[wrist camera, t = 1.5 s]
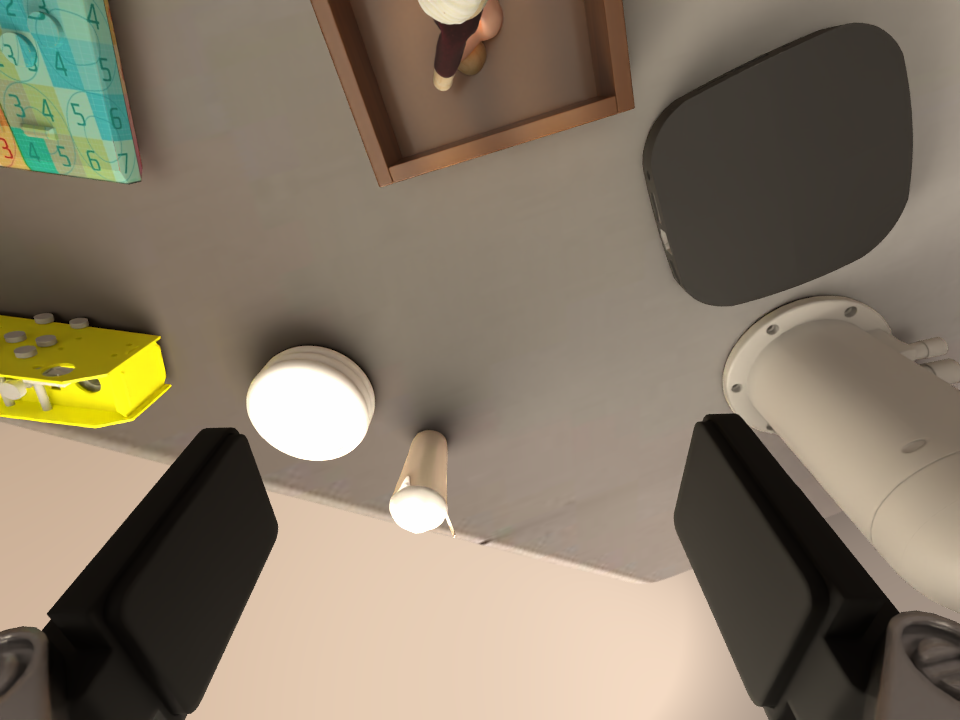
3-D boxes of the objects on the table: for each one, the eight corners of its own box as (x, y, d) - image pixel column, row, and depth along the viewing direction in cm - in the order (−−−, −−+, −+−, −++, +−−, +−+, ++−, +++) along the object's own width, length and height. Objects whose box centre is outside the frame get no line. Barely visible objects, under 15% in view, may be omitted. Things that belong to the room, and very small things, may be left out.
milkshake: (457, 467, 45) (448, 556, 36) (402, 456, 45) (380, 543, 36) (468, 431, 43) (461, 515, 34) (410, 418, 42) (388, 501, 34)
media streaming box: (885, 231, 33) (919, 243, 31) (680, 310, 37) (694, 326, 34) (872, 0, 27) (913, -11, 24) (625, 120, 30) (638, 122, 28)
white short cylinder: (328, 323, 38) (313, 342, 35) (398, 411, 42) (391, 435, 39) (238, 374, 41) (217, 397, 37) (312, 453, 45) (299, 479, 42)
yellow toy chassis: (165, 326, 38) (88, 379, 31) (177, 384, 41) (109, 445, 34) (-37, 299, 38) (-164, 347, 30) (-11, 360, 41) (-122, 417, 33)
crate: (571, -192, 24) (592, -268, 19) (611, 107, 30) (635, 108, 25) (307, -81, 26) (264, -123, 21) (396, 174, 32) (379, 187, 27)
